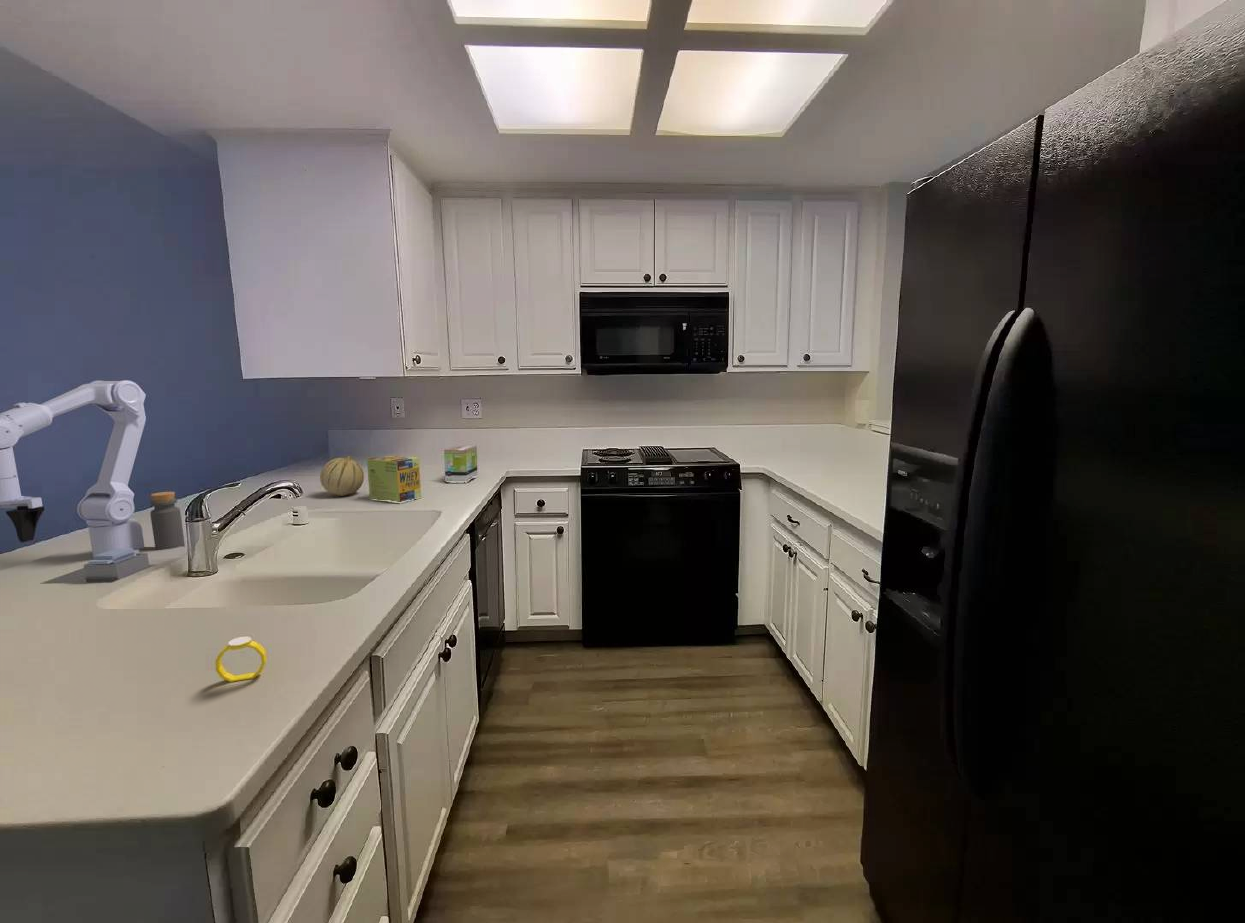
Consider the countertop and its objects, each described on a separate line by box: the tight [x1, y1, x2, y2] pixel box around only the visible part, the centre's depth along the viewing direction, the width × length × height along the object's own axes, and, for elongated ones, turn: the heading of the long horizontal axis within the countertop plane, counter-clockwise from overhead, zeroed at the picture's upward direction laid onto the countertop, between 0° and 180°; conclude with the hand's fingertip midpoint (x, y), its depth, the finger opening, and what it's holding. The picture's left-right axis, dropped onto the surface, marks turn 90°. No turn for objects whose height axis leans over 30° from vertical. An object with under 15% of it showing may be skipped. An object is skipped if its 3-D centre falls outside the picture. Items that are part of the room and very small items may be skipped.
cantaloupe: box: [319, 455, 365, 496], centre depth 202 cm, size 15×15×15 cm
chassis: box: [39, 552, 155, 585], centre depth 118 cm, size 11×15×4 cm
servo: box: [88, 549, 140, 564], centre depth 117 cm, size 8×4×5 cm, turn 1°
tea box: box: [443, 445, 479, 482], centre depth 231 cm, size 15×10×15 cm
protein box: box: [366, 455, 422, 502], centre depth 195 cm, size 10×15×16 cm
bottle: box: [150, 491, 186, 551], centre depth 137 cm, size 6×6×15 cm
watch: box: [215, 636, 268, 683], centre depth 77 cm, size 6×3×6 cm, turn 110°
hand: (8, 541), depth 112 cm, fingers open, 7 cm apart
